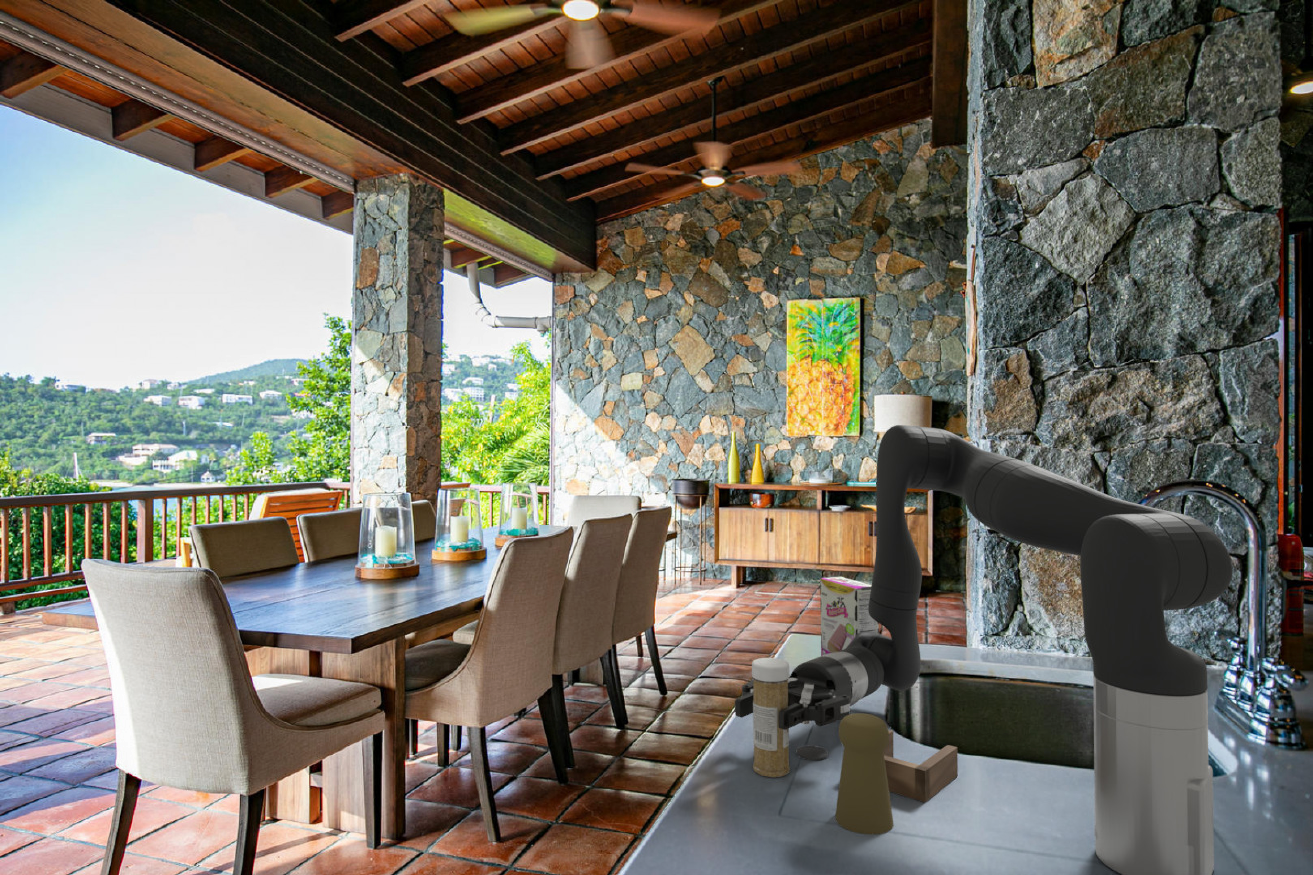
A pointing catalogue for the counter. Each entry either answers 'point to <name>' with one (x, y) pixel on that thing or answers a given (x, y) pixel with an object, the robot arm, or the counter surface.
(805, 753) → the disc
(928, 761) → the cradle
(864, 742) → the cork
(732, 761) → the counter surface
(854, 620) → the candy bar box
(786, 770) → the spice jar
